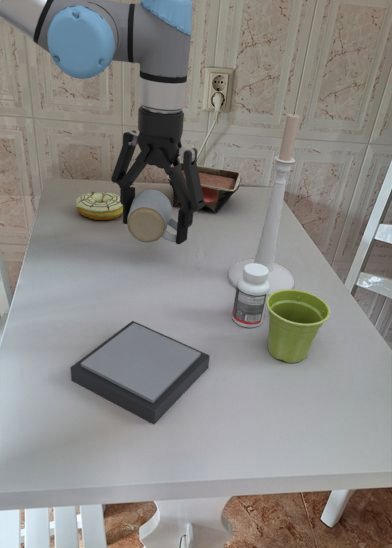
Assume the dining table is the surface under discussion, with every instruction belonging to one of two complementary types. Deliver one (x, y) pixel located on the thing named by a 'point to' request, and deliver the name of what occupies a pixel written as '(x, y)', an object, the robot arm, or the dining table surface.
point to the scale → (140, 370)
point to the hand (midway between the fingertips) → (154, 231)
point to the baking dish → (214, 185)
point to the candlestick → (273, 218)
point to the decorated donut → (99, 205)
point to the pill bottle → (251, 296)
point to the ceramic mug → (151, 217)
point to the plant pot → (294, 323)
